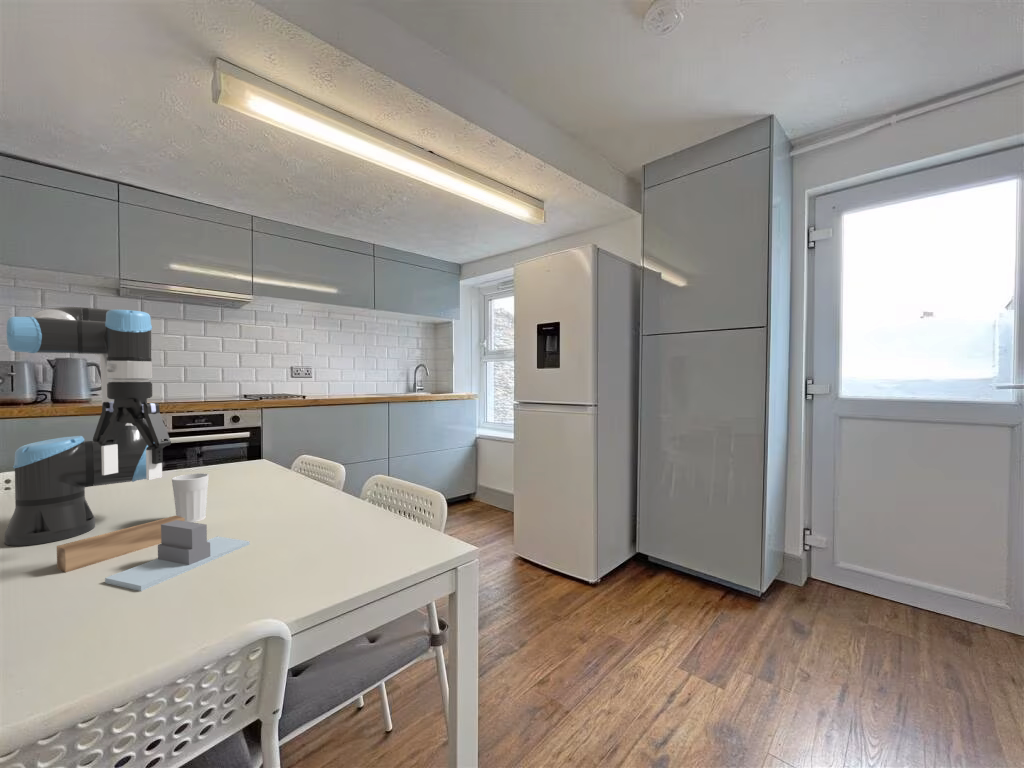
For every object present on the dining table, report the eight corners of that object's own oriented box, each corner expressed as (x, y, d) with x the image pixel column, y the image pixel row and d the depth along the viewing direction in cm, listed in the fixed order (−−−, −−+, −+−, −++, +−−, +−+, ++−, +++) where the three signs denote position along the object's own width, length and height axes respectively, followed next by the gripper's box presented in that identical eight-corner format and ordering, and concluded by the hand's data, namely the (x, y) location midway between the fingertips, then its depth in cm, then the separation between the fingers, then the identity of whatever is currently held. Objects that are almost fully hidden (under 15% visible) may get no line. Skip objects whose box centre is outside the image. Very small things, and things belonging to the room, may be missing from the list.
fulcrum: (105, 583, 81) (104, 541, 81) (217, 540, 102) (216, 506, 102) (141, 591, 78) (140, 547, 78) (249, 545, 99) (249, 511, 99)
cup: (169, 528, 111) (168, 481, 110) (176, 518, 118) (175, 475, 117) (206, 523, 114) (206, 478, 114) (211, 514, 121) (211, 471, 121)
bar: (57, 570, 87) (56, 545, 87) (175, 535, 106) (175, 515, 106) (65, 574, 85) (65, 549, 85) (185, 538, 104) (184, 517, 104)
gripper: (70, 380, 95) (72, 475, 96) (153, 382, 88) (155, 484, 89) (109, 379, 102) (111, 468, 103) (189, 381, 96) (191, 476, 96)
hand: (131, 476), depth 96 cm, fingers open, 13 cm apart
